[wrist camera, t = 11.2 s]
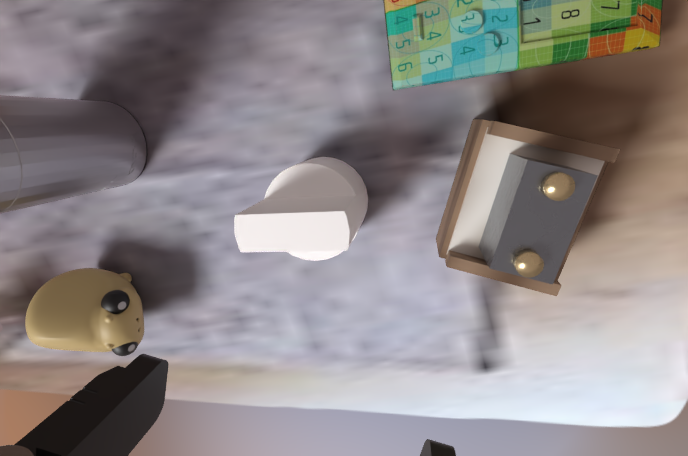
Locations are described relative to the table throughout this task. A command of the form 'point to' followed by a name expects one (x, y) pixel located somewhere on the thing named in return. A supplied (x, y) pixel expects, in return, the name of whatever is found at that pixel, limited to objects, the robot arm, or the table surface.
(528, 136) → the stand
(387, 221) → the table surface
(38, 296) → the tan toy hamster
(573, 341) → the table surface
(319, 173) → the cylinder with rectangular tab
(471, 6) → the puzzle game
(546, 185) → the block
